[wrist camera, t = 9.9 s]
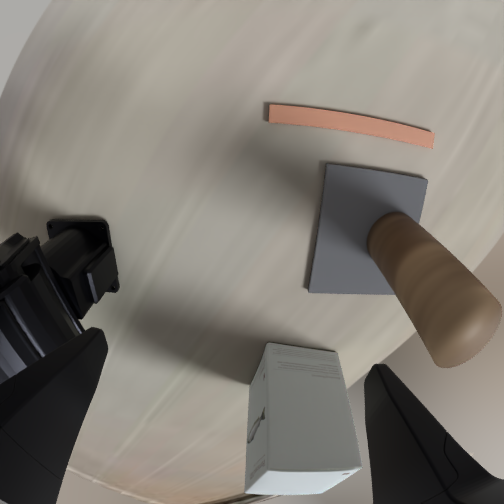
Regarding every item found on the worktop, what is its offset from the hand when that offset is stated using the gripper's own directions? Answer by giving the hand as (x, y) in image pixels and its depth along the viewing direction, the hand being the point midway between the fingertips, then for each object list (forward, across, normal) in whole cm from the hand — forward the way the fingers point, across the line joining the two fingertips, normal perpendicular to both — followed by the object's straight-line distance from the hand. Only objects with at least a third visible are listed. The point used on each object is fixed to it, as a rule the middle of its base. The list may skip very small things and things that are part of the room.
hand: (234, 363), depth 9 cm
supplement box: (+13, -5, +16) cm, 21 cm away
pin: (+13, -10, +1) cm, 17 cm away
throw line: (+14, -6, -7) cm, 16 cm away
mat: (+14, -8, +1) cm, 16 cm away
